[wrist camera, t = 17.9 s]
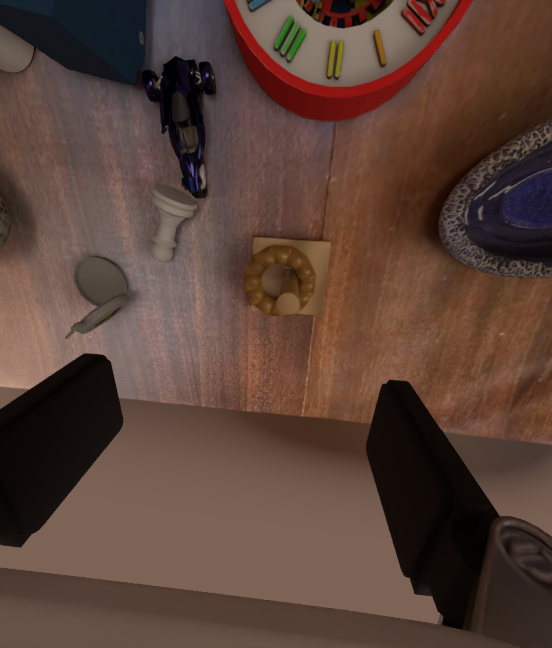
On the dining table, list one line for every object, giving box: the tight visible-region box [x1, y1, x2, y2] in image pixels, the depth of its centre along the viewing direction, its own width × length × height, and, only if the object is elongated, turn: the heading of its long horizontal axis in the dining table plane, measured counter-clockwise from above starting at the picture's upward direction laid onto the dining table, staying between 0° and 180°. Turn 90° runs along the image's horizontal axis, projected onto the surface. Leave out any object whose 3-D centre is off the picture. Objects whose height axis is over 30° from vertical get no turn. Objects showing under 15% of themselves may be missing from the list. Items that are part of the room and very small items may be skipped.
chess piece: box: [150, 185, 197, 262], centre depth 30 cm, size 5×5×8 cm
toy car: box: [142, 56, 216, 198], centre depth 26 cm, size 12×6×4 cm, turn 5°
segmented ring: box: [244, 245, 316, 316], centre depth 31 cm, size 8×8×2 cm
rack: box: [251, 236, 331, 315], centre depth 28 cm, size 9×9×11 cm
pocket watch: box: [65, 257, 130, 339], centre depth 30 cm, size 8×8×10 cm
